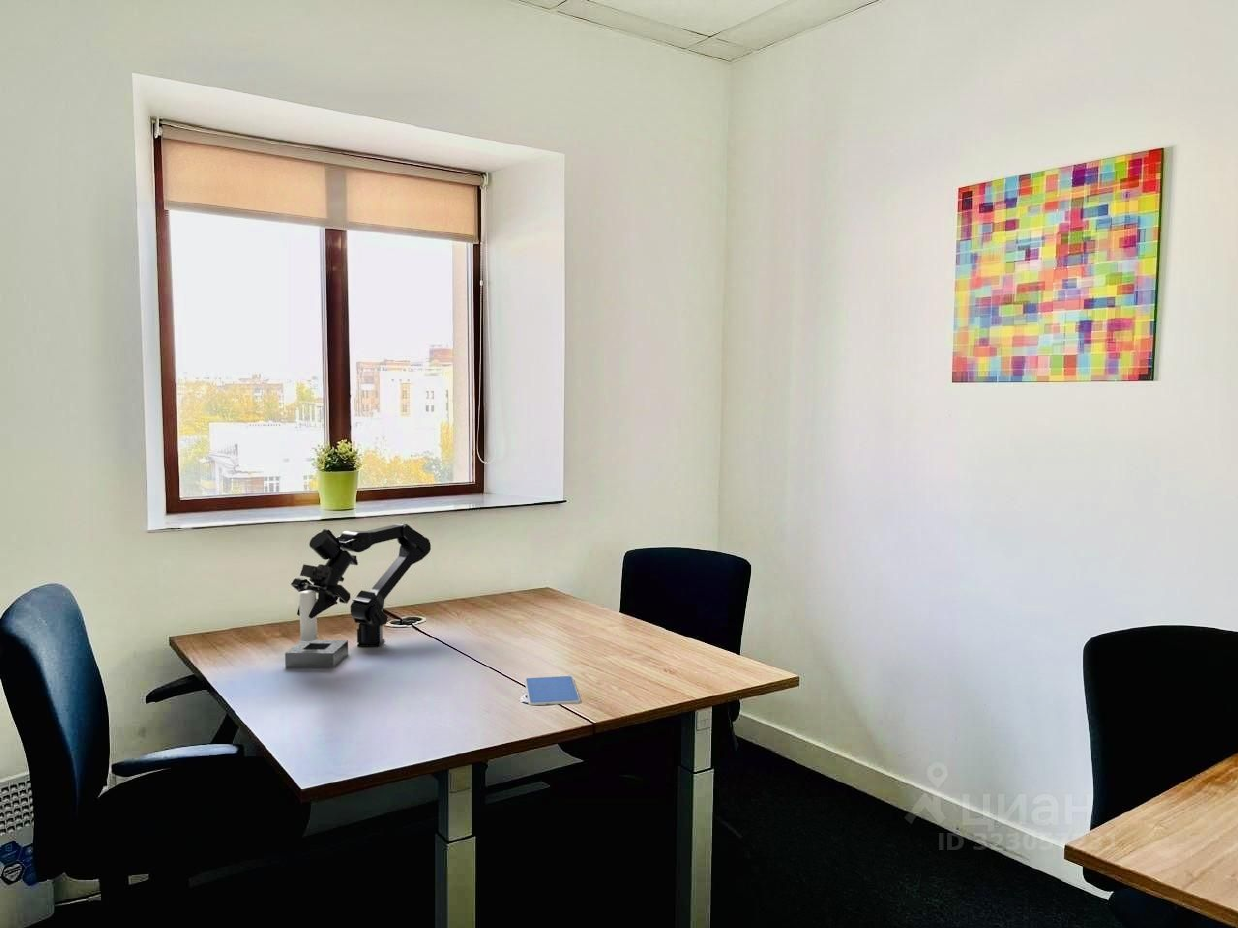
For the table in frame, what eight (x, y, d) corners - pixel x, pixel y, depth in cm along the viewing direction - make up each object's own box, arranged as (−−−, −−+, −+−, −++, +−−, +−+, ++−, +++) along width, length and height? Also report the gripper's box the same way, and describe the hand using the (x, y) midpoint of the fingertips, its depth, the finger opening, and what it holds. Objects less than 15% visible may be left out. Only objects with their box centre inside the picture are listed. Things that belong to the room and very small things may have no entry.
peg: (319, 636, 255) (317, 590, 254) (315, 640, 250) (313, 593, 249) (303, 636, 254) (301, 590, 253) (298, 641, 250) (296, 594, 249)
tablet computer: (581, 705, 221) (581, 699, 221) (528, 708, 219) (528, 702, 219) (572, 680, 240) (572, 675, 240) (524, 682, 238) (524, 677, 238)
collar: (348, 653, 261) (348, 640, 261) (333, 667, 248) (333, 653, 248) (302, 653, 261) (302, 639, 261) (285, 667, 248) (285, 652, 248)
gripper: (295, 549, 258) (263, 596, 250) (340, 556, 249) (309, 604, 240) (318, 571, 266) (288, 617, 258) (364, 579, 256) (334, 627, 248)
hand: (304, 616), depth 251 cm, fingers closed on peg, 4 cm apart
